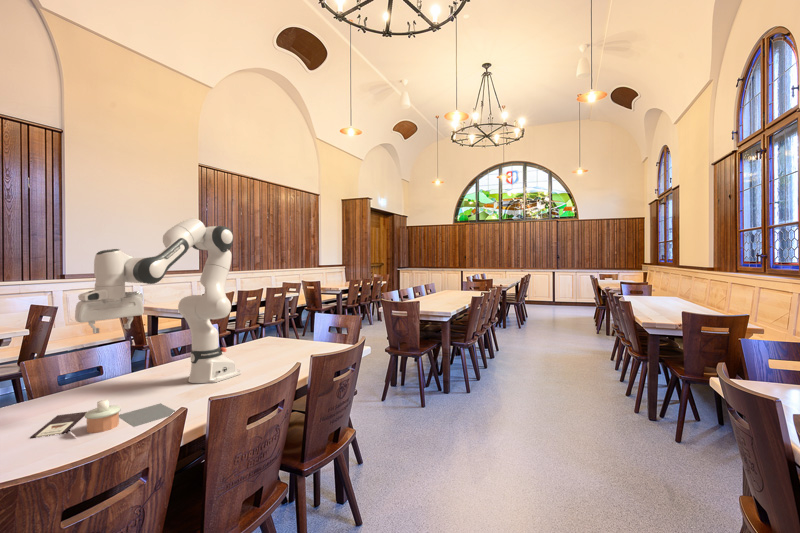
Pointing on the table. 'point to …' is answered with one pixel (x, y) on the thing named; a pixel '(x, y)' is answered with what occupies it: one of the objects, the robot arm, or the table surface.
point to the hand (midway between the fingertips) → (112, 330)
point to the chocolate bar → (59, 424)
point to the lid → (102, 410)
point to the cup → (102, 423)
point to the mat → (146, 414)
